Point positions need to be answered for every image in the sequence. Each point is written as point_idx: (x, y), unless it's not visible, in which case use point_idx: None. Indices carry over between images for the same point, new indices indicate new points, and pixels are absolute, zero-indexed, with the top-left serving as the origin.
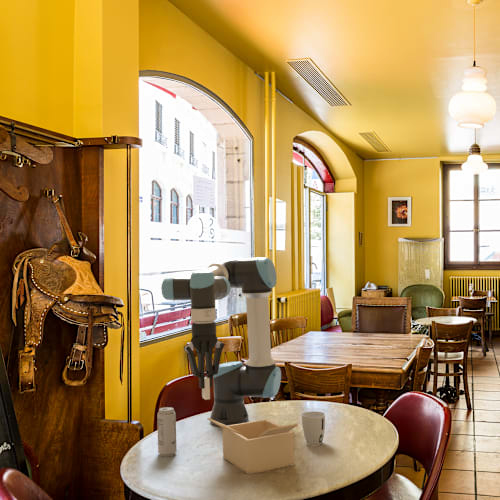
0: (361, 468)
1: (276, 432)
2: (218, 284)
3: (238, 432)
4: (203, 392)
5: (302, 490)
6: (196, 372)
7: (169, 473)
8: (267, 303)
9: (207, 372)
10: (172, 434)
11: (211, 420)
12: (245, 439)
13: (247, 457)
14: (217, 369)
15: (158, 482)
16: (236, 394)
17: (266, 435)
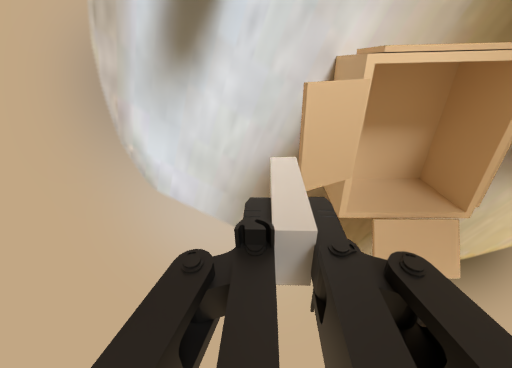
0: (483, 243)
1: (413, 236)
2: None
3: (348, 178)
4: (270, 190)
5: None
6: (186, 339)
7: (188, 97)
8: None
9: (333, 275)
10: None
11: (303, 122)
12: (340, 208)
13: (328, 194)
14: (422, 348)
15: (160, 136)
16: None
17: (391, 221)
